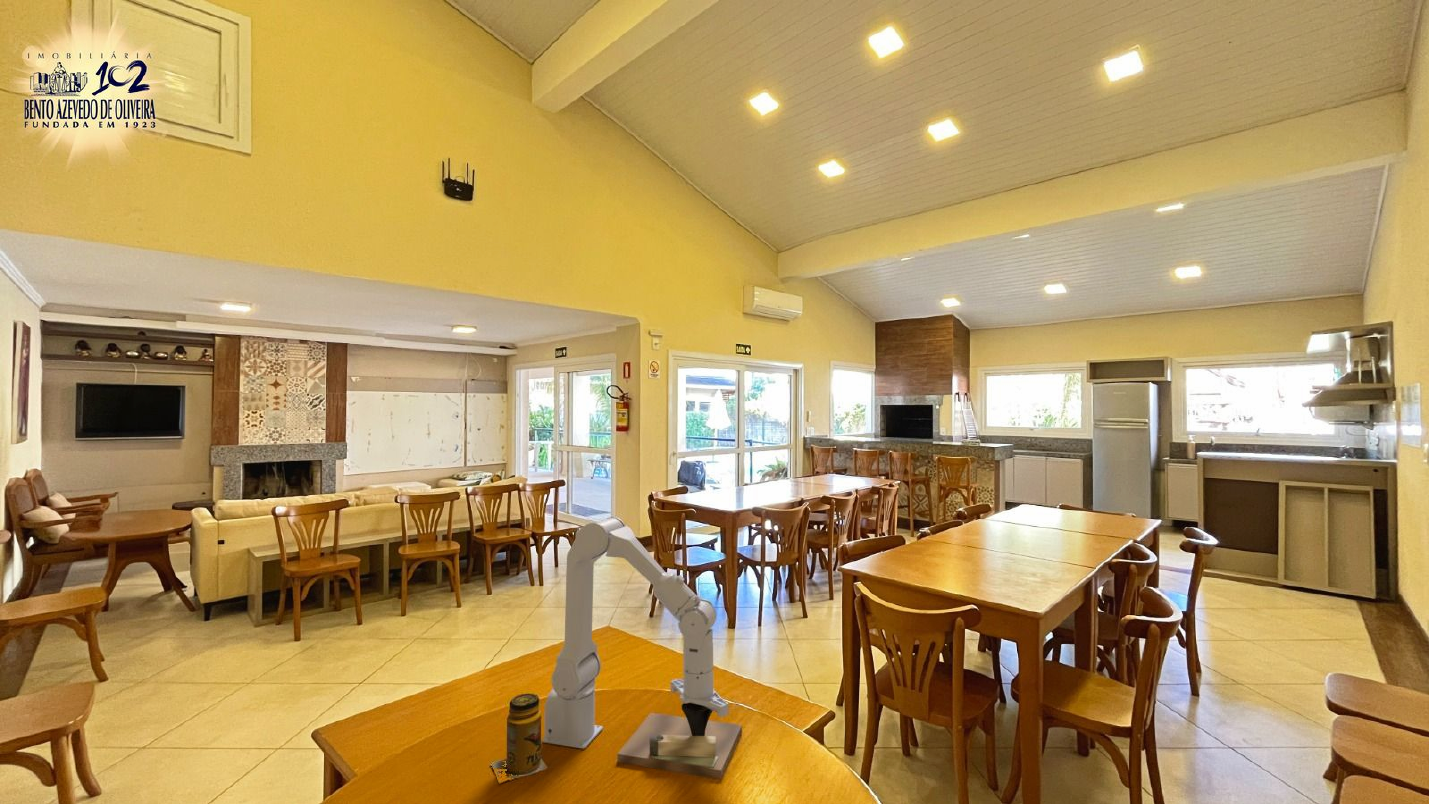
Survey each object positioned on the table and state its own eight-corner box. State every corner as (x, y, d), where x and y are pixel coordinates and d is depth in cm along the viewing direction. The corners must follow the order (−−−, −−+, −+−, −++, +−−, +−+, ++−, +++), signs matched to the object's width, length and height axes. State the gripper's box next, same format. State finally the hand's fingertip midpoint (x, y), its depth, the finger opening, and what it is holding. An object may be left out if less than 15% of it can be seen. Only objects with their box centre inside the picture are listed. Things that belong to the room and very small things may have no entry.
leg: (648, 755, 102) (648, 741, 102) (651, 747, 104) (651, 734, 105) (715, 757, 101) (714, 743, 101) (716, 749, 104) (715, 736, 104)
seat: (617, 762, 103) (617, 752, 103) (650, 720, 118) (650, 711, 118) (721, 779, 97) (721, 769, 98) (742, 732, 113) (741, 724, 113)
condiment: (547, 769, 101) (548, 701, 102) (498, 785, 97) (499, 714, 97) (536, 750, 107) (536, 686, 108) (489, 765, 103) (491, 698, 103)
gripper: (658, 662, 108) (658, 734, 107) (708, 686, 98) (709, 766, 97) (685, 652, 113) (686, 721, 112) (736, 674, 103) (737, 750, 102)
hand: (698, 741), depth 105 cm, fingers closed, pressing on leg
